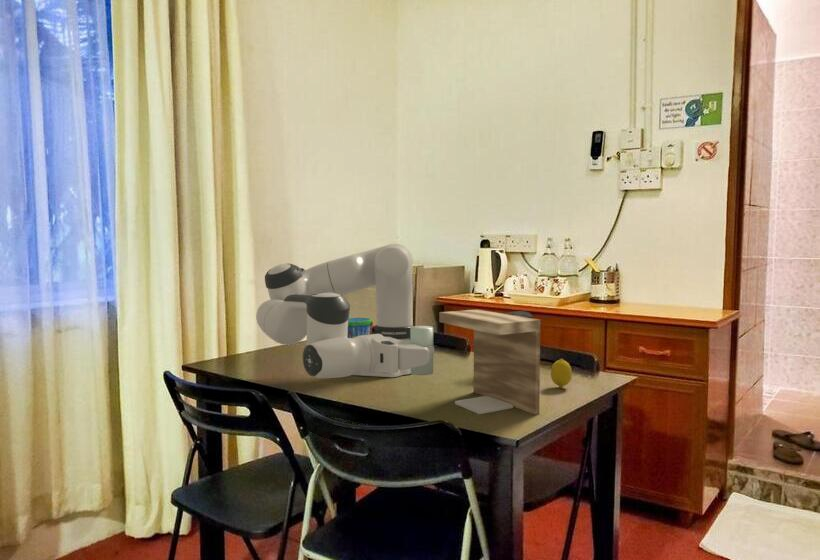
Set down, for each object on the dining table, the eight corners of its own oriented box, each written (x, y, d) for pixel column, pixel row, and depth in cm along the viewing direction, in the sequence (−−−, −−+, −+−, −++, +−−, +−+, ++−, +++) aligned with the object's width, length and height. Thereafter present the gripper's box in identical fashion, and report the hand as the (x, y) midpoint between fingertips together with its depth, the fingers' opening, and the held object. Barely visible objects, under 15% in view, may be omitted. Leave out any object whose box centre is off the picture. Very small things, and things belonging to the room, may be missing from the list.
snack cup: (347, 350, 222) (347, 322, 221) (332, 346, 230) (331, 319, 229) (382, 345, 231) (382, 318, 231) (366, 341, 240) (366, 316, 239)
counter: (498, 422, 135) (499, 323, 134) (439, 397, 156) (439, 312, 155) (539, 413, 141) (540, 319, 140) (477, 391, 162) (477, 309, 161)
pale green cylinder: (409, 375, 145) (409, 329, 144) (411, 369, 151) (411, 325, 150) (433, 375, 145) (432, 329, 144) (433, 370, 150) (433, 325, 150)
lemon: (567, 391, 162) (568, 361, 161) (547, 388, 165) (548, 359, 164) (574, 387, 167) (574, 358, 166) (554, 384, 170) (554, 356, 169)
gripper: (354, 359, 150) (403, 353, 157) (395, 375, 132) (448, 367, 139) (354, 333, 149) (403, 328, 156) (395, 346, 132) (448, 340, 139)
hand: (425, 347), depth 148 cm, fingers closed on pale green cylinder, 5 cm apart
